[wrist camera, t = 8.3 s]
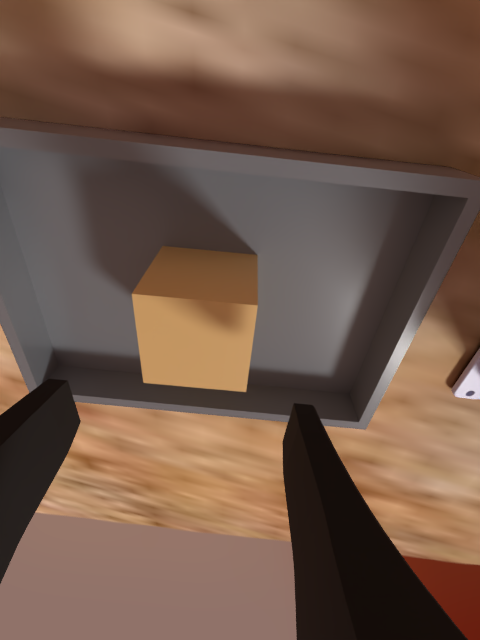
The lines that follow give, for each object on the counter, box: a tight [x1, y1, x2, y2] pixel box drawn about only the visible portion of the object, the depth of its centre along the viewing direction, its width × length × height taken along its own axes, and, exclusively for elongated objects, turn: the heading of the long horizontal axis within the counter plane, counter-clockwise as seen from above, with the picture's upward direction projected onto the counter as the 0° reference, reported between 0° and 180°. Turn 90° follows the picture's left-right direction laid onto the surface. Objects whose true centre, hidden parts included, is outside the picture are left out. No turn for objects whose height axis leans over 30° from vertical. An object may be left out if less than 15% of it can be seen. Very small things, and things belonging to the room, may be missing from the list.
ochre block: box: [132, 246, 258, 392], centre depth 15 cm, size 5×5×5 cm
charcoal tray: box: [0, 117, 480, 430], centre depth 16 cm, size 20×14×3 cm
